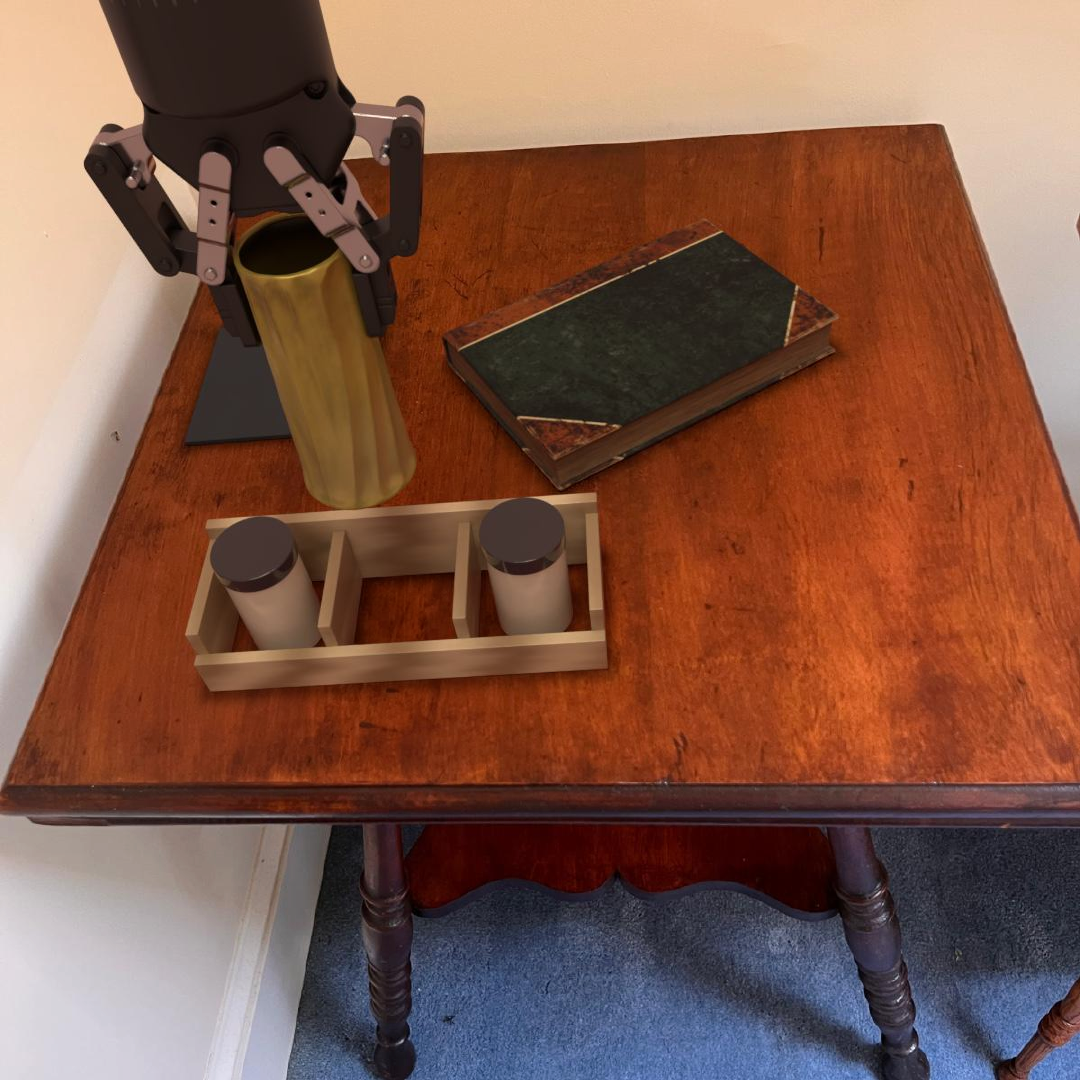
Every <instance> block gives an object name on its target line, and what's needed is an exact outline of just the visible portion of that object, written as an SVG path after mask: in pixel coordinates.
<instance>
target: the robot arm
mask: <svg viewBox="0 0 1080 1080" xmlns="http://www.w3.org/2000/svg"><path fill="white" fill-rule="evenodd" d="M98 2H99V5H100V8H101V11H102V12H103V15H104V17H105V20H106V22H107V25H108V27H109V30H110V32H111V35H112V37H113V40H114V42H115V45H116V47H117V50H118V53H119V56H120V58H121V60H122V63H123V66H124V68H125V70H126V73H127V75H128V78H129V81H130V83H131V85H132V88H133V91H134V92H135V93H134V94H136V96H137V97H138V99H139V100H140V102H141V105H142V110H143V119H142V123H139V124H136V125H133V126H131V127H130V126H129V127H127V128H124V127H122V126H121V125H119V124H117V123H105V124H104V125H103V126H101V128H100V129H99V131H98V134H96V136H95V138H94V139H93V141H92V142H91V144H90V147H89V148H88V152H87V154H86V156H85V158H83V159H84V160H83V167H84V170H85V172H86V173H87V174H88V176H89V178H90V179H91V181H92V182H93V184H94V185H95V186H96V188H97V189H98V191H99V192H100V194H101V196H102V197H103V199H105V201H106V203H107V204H108V206H109V207H110V208H111V210H112V211H113V213H114V215H116V217H117V218H118V220H119V221H120V223H121V224H122V226H123V227H124V228H125V230H126V232H127V233H128V234H129V236H130V237H131V238H132V240H133V241H134V243H135V244H136V246H137V247H138V249H139V250H140V252H141V253H142V255H143V256H144V257H145V258H146V260H147V262H148V263H149V264H150V266H151V268H152V269H153V270H154V271H155V272H156V273H157V274H159V275H160V276H163V277H165V278H173V277H175V276H177V275H179V273H185V274H189V275H194V276H196V277H197V278H198V279H199V280H200V281H201V282H202V283H204V284H206V286H207V287H208V290H209V293H210V295H211V298H212V301H213V303H214V305H215V307H216V310H217V312H218V315H219V317H220V319H221V322H222V325H223V327H225V329H226V330H227V332H228V333H229V334H230V335H231V336H232V337H240V339H241V342H242V344H243V346H244V347H245V348H248V347H260V346H261V345H262V340H261V337H260V334H259V331H258V328H257V325H256V322H255V319H254V316H253V313H252V310H251V307H250V304H249V301H248V298H247V295H246V293H245V290H244V287H243V285H242V282H241V280H240V277H239V274H238V272H237V269H236V267H235V265H234V261H233V258H232V250H233V247H234V245H235V243H236V242H237V229H238V220H239V219H246V218H255V217H258V216H260V215H263V214H266V213H269V212H275V213H281V214H282V213H289V214H295V213H306V214H307V215H308V216H309V218H310V219H311V220H312V222H313V223H314V224H315V226H316V227H317V228H318V229H319V231H320V232H321V233H322V234H323V235H324V236H325V237H326V238H332V239H333V240H334V241H335V243H336V244H337V245H338V246H339V248H340V249H341V250H342V252H343V253H344V254H345V256H346V257H347V258H348V259H349V261H350V262H351V263H352V265H353V266H354V267H353V272H352V277H353V281H354V285H355V288H356V292H357V296H358V299H359V303H360V307H361V310H362V314H363V318H364V321H365V325H366V329H367V332H368V336H369V337H370V338H374V337H379V338H385V337H386V335H387V328H388V326H392V325H394V323H395V320H396V315H397V308H398V301H399V294H398V291H397V287H396V282H395V278H394V273H393V270H392V264H391V261H390V260H391V259H393V258H396V257H397V256H398V257H401V258H409V257H412V256H414V255H415V254H416V253H417V251H418V249H419V243H420V234H421V227H422V218H423V192H424V190H423V189H424V160H425V159H424V158H425V126H426V108H425V107H426V106H425V105H424V102H422V99H419V97H417V96H415V95H407V94H406V95H404V96H401V97H399V99H398V100H397V101H396V103H395V105H394V106H391V105H382V104H374V103H362V102H358V101H357V100H356V97H355V96H354V94H353V93H352V92H351V90H349V88H348V87H347V86H346V85H345V83H344V82H343V80H342V79H341V77H340V76H339V73H338V71H337V68H336V65H335V60H334V57H333V52H332V48H331V44H330V39H329V36H328V31H327V27H326V23H325V19H324V15H323V14H324V13H323V11H322V6H321V2H320V0H98ZM355 137H359V138H361V139H363V140H364V141H366V142H367V144H368V145H369V147H370V150H371V156H372V157H373V159H374V160H375V161H376V162H377V163H378V164H379V165H380V166H381V167H385V168H386V167H387V168H388V167H389V213H388V214H386V215H383V216H381V217H378V216H377V215H376V213H375V212H374V210H373V209H372V207H371V206H370V204H369V203H368V202H367V201H366V199H365V198H364V196H363V194H362V192H361V187H360V185H359V182H358V181H357V179H356V177H355V176H354V174H353V172H351V170H350V169H349V167H348V166H347V164H346V163H345V162H344V159H345V157H346V154H347V152H348V151H349V148H350V147H351V145H352V142H353V140H354V138H355ZM155 158H156V159H157V160H158V161H160V162H161V163H162V164H164V165H165V166H166V167H167V168H168V169H169V170H171V172H173V173H174V174H175V175H176V176H178V177H180V179H182V180H183V181H185V182H186V183H187V184H188V185H189V186H191V187H192V188H193V189H194V190H195V191H197V192H198V204H197V217H196V218H197V221H196V232H195V231H191V229H190V228H189V226H188V225H187V223H186V222H185V220H184V219H183V217H182V215H181V214H180V212H179V211H178V210H177V207H176V206H175V204H174V202H173V201H172V200H171V198H170V197H169V195H168V193H167V192H166V190H165V188H164V187H163V186H162V184H161V182H160V181H159V180H158V178H157V176H156V175H155V172H156V169H157V163H156V162H157V161H156V159H155Z"/></svg>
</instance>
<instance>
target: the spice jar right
mask: <svg viewBox="0 0 1080 1080" xmlns="http://www.w3.org/2000/svg"><path fill="white" fill-rule="evenodd" d="M524 497H525V496H524ZM528 497H529V496H526V497H525V498H522V497H514V498H515V499H511V500H507V501H505V502H502V503H500V504H498V505H497V506H495V507H494V508H492V509H491V510H490V511H489V512H488V513H487V514H486V515H485V517H484V518H483V520H482V522H481V524H480V527H479V540H480V544H481V549H482V553H483V556H484V558H485V559H486V564H487V568H488V570H487V573H488V577H489V582H490V586H491V591H492V596H493V601H494V604H495V605H494V606H495V609H496V615H497V617H498V623H499V626H500V628H501V629H502V630H503V632H504V633H505V634H506V636H512V635H528V634H545V633H561V632H566V630H567V629H568V627H569V625H570V624H571V622H572V619H573V615H574V606H573V598H572V597H573V596H572V589H571V581H570V573H569V565H568V564H567V556H566V548H565V545H566V534H565V525H564V520H563V517H562V515H561V514H560V512H559V511H558V510H557V509H556V508H555V507H554V506H553V505H551V504H549V503H548V502H546V501H543V500H540V499H536V498H528Z"/></svg>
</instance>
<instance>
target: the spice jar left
mask: <svg viewBox="0 0 1080 1080" xmlns="http://www.w3.org/2000/svg"><path fill="white" fill-rule="evenodd" d="M256 516H257V517H252V516H250V517H251V518H247V519H244V520H241V521H239V522H236V523H235V524H233V525H231V526H230V527H228V528H227V529H225V530H224V531H223V532H222V533H221V534H220V535H219V536H218V537H217V539H216V540H215V542H214V544H213V546H212V548H211V552H210V564H211V566H212V568H213V570H214V572H215V574H216V576H217V578H218V579H219V581H220V582H221V583H222V584H223V585H224V587H225V589H226V591H227V593H228V594H229V596H230V598H231V600H232V602H233V604H234V606H235V607H236V609H237V611H238V613H239V615H240V616H239V618H240V619H241V621H242V622H243V625H244V626H245V628H246V630H247V631H248V633H249V635H250V637H251V639H252V641H253V643H254V644H255V646H256V648H257V649H258V651H265V650H281V649H298V648H314V647H316V645H317V644H318V643H319V642H320V641H321V639H323V638H322V636H321V634H320V631H319V629H318V627H317V626H318V620H319V614H320V608H321V600H320V598H319V596H318V594H317V591H316V589H315V586H314V584H313V581H311V579H310V577H309V575H308V572H307V570H306V568H305V565H304V563H303V561H302V558H301V556H300V554H299V551H298V545H297V542H296V540H295V538H294V535H293V533H292V531H291V529H290V528H289V526H288V525H287V524H285V523H284V522H282V521H281V520H279V519H276V518H273V517H267V516H266V515H256Z"/></svg>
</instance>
